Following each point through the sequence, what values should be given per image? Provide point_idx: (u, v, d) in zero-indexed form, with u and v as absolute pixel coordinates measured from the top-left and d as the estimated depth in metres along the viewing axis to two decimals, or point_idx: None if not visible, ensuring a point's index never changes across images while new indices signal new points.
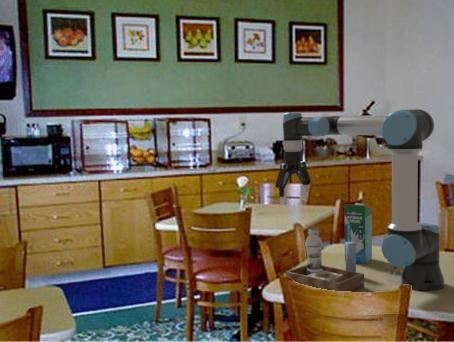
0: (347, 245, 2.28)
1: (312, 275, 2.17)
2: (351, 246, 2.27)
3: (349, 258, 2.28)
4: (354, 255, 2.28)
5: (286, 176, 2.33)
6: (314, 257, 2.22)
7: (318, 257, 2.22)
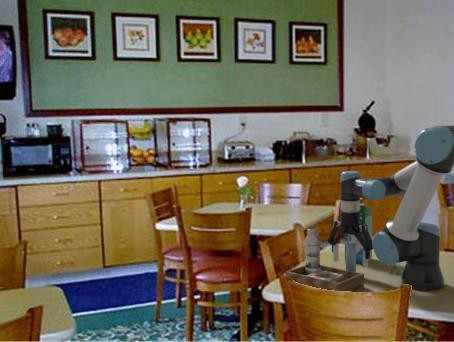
0: (347, 245, 2.28)
1: (312, 275, 2.17)
2: (351, 246, 2.27)
3: (349, 258, 2.28)
4: (354, 255, 2.28)
5: None
6: (312, 256, 2.23)
7: (316, 256, 2.23)
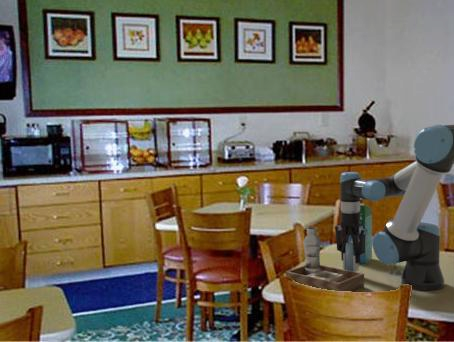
0: (347, 245, 2.28)
1: (312, 275, 2.17)
2: (351, 246, 2.27)
3: (349, 258, 2.28)
4: None
5: None
6: (312, 256, 2.23)
7: (316, 256, 2.23)
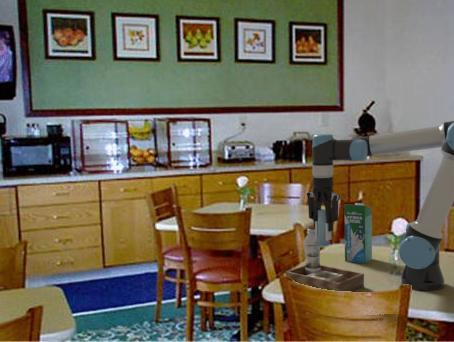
0: (319, 212, 2.14)
1: (312, 275, 2.17)
2: (323, 213, 2.13)
3: (321, 226, 2.14)
4: None
5: None
6: (312, 256, 2.23)
7: (316, 256, 2.23)
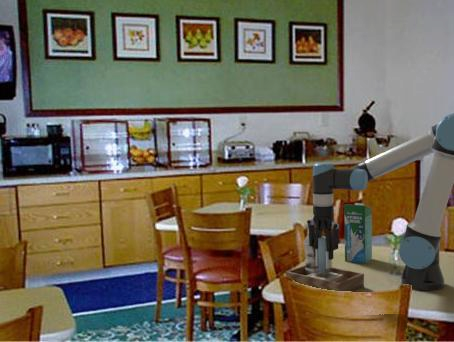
0: (320, 240, 2.15)
1: (312, 275, 2.17)
2: (324, 241, 2.14)
3: (322, 254, 2.15)
4: None
5: None
6: (312, 256, 2.23)
7: None
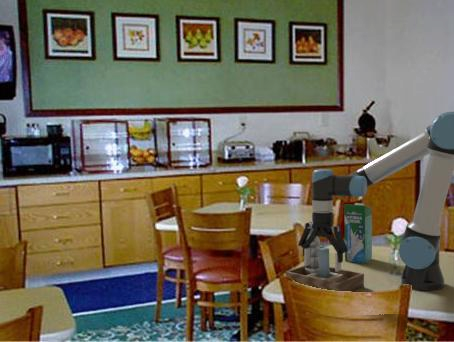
0: (320, 251, 2.15)
1: (312, 275, 2.17)
2: (324, 252, 2.14)
3: (322, 265, 2.15)
4: (327, 262, 2.15)
5: None
6: (312, 256, 2.23)
7: (316, 256, 2.23)
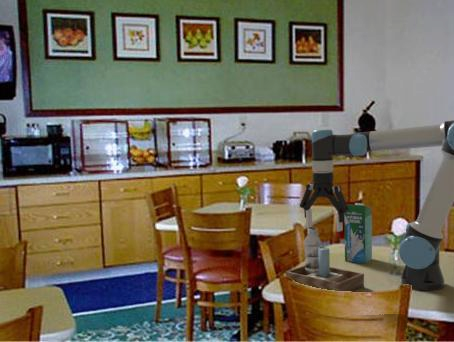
0: (320, 251, 2.15)
1: (312, 275, 2.17)
2: (324, 252, 2.14)
3: (322, 266, 2.15)
4: (327, 262, 2.15)
5: None
6: (312, 256, 2.23)
7: (316, 256, 2.23)
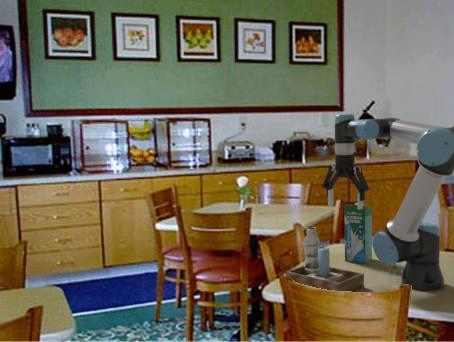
0: (320, 251, 2.15)
1: (312, 275, 2.17)
2: (324, 252, 2.14)
3: (322, 266, 2.15)
4: (327, 262, 2.15)
5: None
6: (311, 256, 2.22)
7: (316, 256, 2.23)
